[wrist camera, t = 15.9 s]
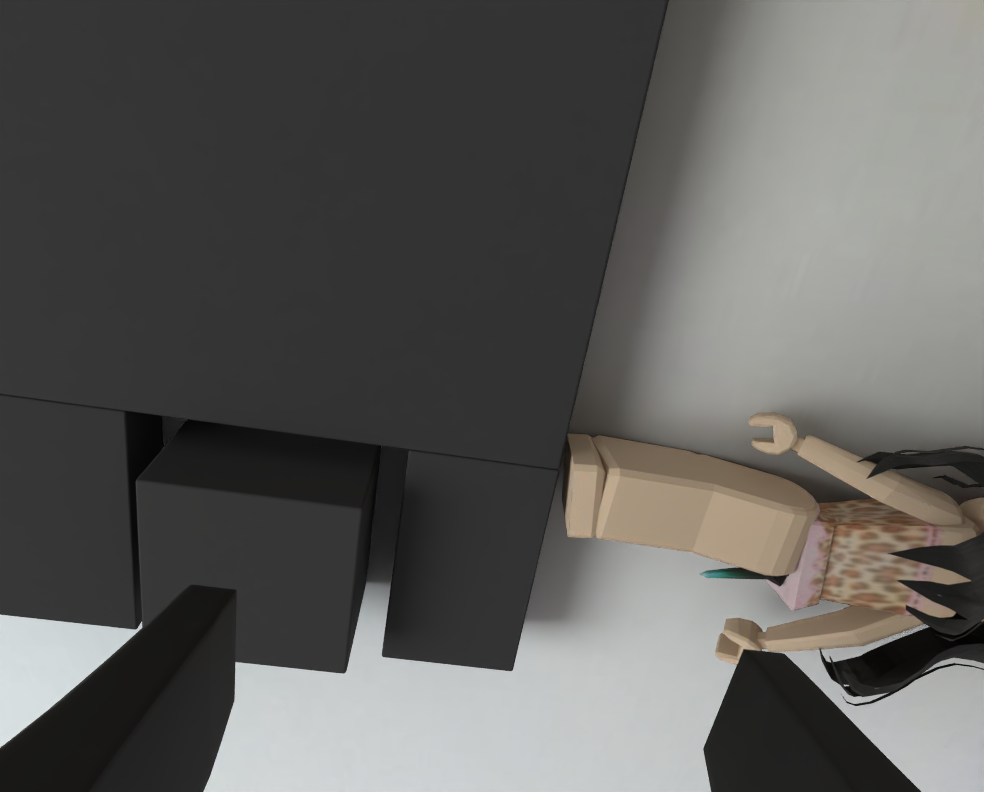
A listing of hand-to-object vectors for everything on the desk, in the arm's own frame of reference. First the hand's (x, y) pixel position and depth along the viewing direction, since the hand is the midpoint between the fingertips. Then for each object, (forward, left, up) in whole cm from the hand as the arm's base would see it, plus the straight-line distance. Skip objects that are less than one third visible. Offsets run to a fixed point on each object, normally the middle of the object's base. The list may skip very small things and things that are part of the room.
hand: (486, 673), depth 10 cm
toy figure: (-2, -10, -10) cm, 14 cm away
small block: (-4, +5, -9) cm, 11 cm away
